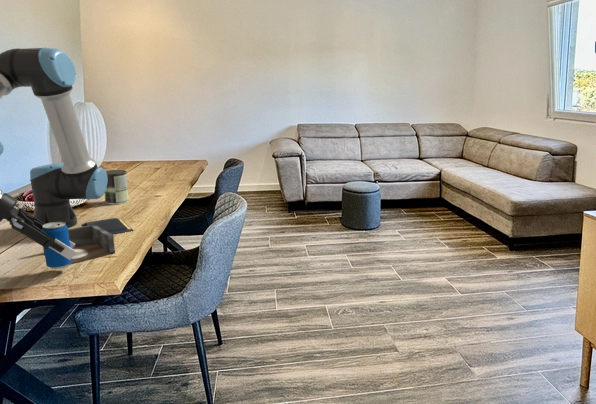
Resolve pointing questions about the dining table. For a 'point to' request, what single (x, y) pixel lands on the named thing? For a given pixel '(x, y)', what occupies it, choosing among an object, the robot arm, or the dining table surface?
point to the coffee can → (116, 187)
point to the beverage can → (60, 233)
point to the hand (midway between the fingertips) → (72, 251)
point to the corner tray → (90, 243)
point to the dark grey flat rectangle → (111, 225)
